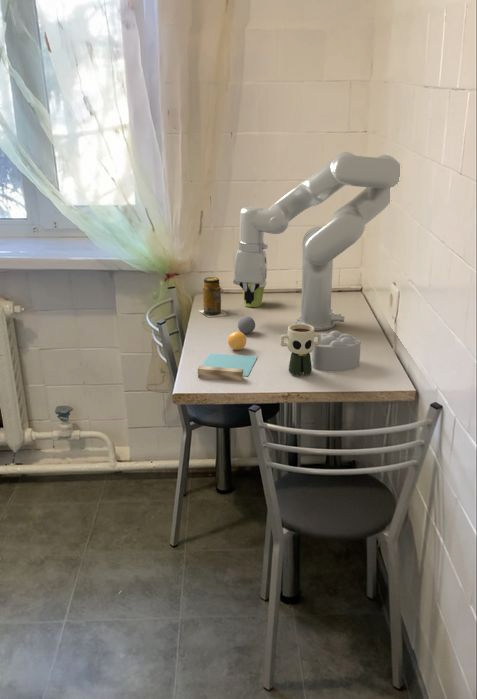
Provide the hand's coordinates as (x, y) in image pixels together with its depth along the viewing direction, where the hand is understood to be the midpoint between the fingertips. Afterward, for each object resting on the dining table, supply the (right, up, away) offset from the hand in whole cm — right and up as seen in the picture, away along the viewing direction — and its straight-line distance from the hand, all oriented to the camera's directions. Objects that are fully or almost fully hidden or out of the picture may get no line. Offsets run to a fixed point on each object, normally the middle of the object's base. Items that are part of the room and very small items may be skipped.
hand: (249, 302), depth 215 cm
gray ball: (-1, -8, -7) cm, 10 cm away
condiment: (-12, -3, +14) cm, 18 cm away
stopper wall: (-8, -23, -38) cm, 45 cm away
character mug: (+13, -22, -35) cm, 44 cm away
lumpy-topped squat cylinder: (+24, -20, -30) cm, 43 cm away
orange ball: (-4, -13, -20) cm, 24 cm away
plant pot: (+2, 0, +21) cm, 21 cm away
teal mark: (-6, -20, -30) cm, 36 cm away
